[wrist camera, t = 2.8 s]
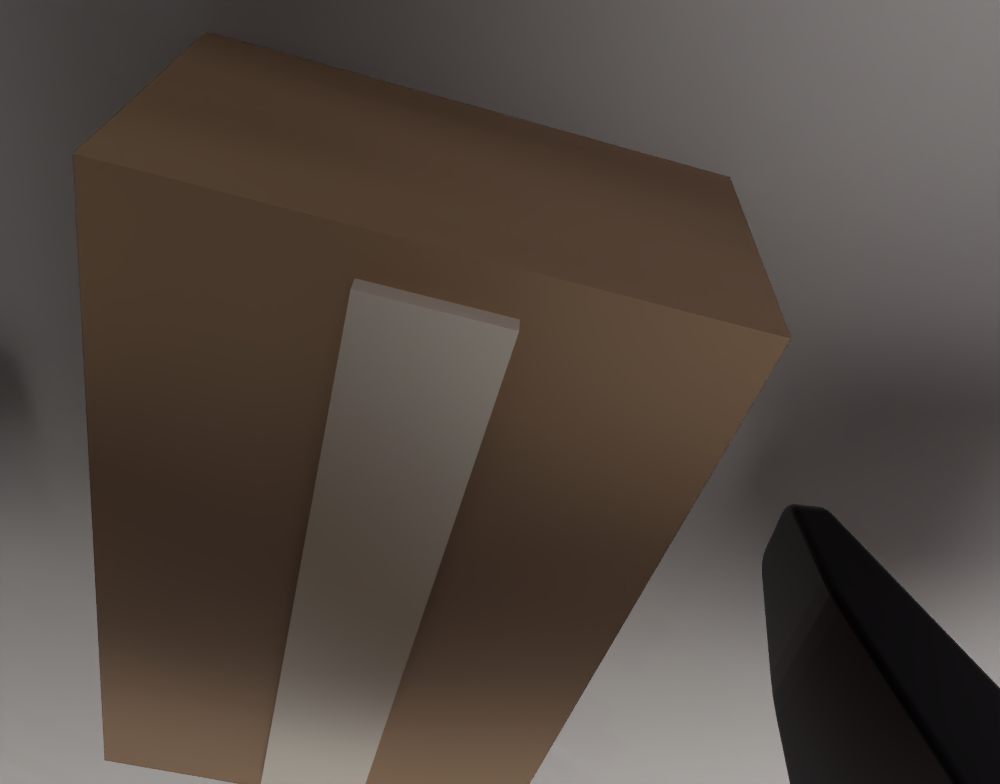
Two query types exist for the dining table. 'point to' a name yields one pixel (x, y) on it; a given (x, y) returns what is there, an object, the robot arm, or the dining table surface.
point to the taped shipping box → (386, 415)
